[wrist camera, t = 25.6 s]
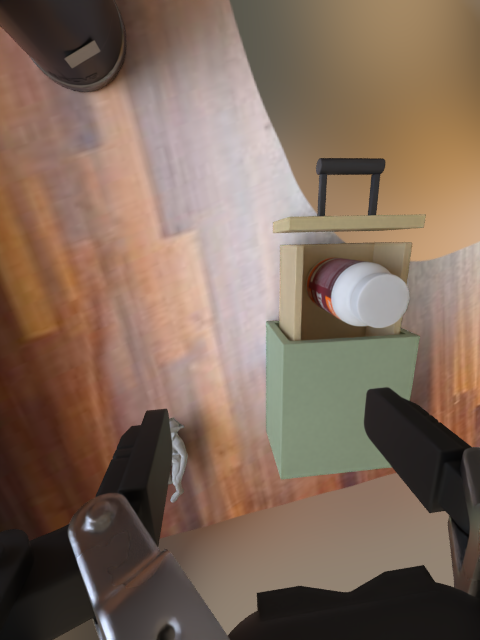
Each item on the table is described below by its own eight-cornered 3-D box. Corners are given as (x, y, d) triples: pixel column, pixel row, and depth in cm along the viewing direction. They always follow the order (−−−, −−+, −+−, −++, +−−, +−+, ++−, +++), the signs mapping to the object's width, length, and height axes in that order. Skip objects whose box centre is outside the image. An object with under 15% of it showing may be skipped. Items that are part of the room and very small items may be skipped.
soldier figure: (146, 475, 42) (127, 426, 35) (172, 452, 45) (159, 402, 39) (180, 512, 38) (166, 464, 31) (206, 483, 41) (198, 434, 34)
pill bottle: (294, 292, 34) (333, 314, 23) (323, 247, 33) (378, 249, 22) (334, 316, 35) (388, 348, 25) (363, 274, 34) (432, 288, 24)
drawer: (273, 169, 31) (290, 149, 24) (388, 169, 32) (435, 150, 26) (272, 347, 37) (286, 370, 30) (370, 341, 38) (404, 362, 31)
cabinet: (266, 321, 37) (283, 344, 28) (373, 315, 38) (420, 336, 30) (266, 431, 41) (280, 479, 33) (361, 422, 43) (399, 466, 34)
